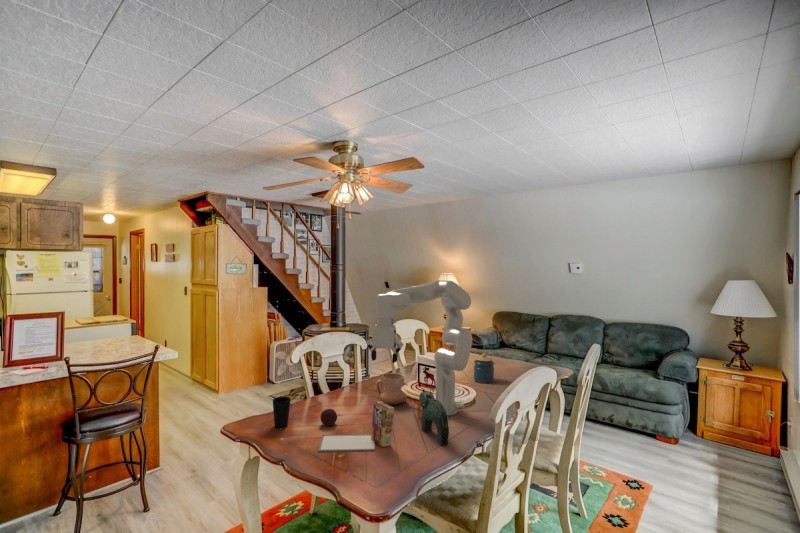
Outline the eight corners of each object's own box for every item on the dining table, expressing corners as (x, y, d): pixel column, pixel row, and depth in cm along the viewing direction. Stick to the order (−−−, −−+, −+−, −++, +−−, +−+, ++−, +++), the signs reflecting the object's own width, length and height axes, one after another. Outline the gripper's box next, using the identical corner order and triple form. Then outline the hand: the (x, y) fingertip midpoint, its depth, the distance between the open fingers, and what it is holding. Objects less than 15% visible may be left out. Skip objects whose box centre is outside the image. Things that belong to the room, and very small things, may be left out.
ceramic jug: (412, 400, 213) (412, 373, 213) (402, 409, 199) (403, 381, 199) (381, 395, 219) (382, 370, 219) (370, 404, 206) (371, 376, 206)
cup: (293, 424, 177) (294, 398, 177) (282, 431, 170) (282, 403, 170) (280, 421, 180) (280, 395, 180) (268, 427, 174) (268, 400, 174)
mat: (374, 435, 167) (374, 434, 167) (374, 450, 154) (374, 449, 154) (322, 436, 166) (322, 435, 166) (317, 451, 152) (317, 450, 152)
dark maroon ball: (317, 424, 178) (317, 409, 178) (330, 420, 183) (331, 405, 183) (326, 429, 173) (327, 413, 173) (340, 424, 178) (341, 409, 178)
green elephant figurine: (417, 428, 176) (418, 383, 176) (430, 426, 178) (431, 382, 178) (439, 447, 157) (439, 397, 157) (453, 444, 160) (453, 395, 160)
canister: (473, 383, 246) (474, 354, 246) (473, 377, 259) (473, 350, 259) (494, 384, 244) (495, 356, 244) (493, 378, 257) (493, 351, 257)
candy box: (391, 445, 159) (394, 407, 159) (383, 447, 156) (386, 409, 156) (378, 436, 166) (381, 400, 166) (370, 439, 163) (373, 402, 163)
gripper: (406, 322, 173) (405, 361, 172) (370, 319, 179) (369, 357, 179) (400, 324, 165) (399, 365, 165) (363, 321, 172) (362, 361, 172)
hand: (384, 361), depth 172 cm, fingers open, 9 cm apart
